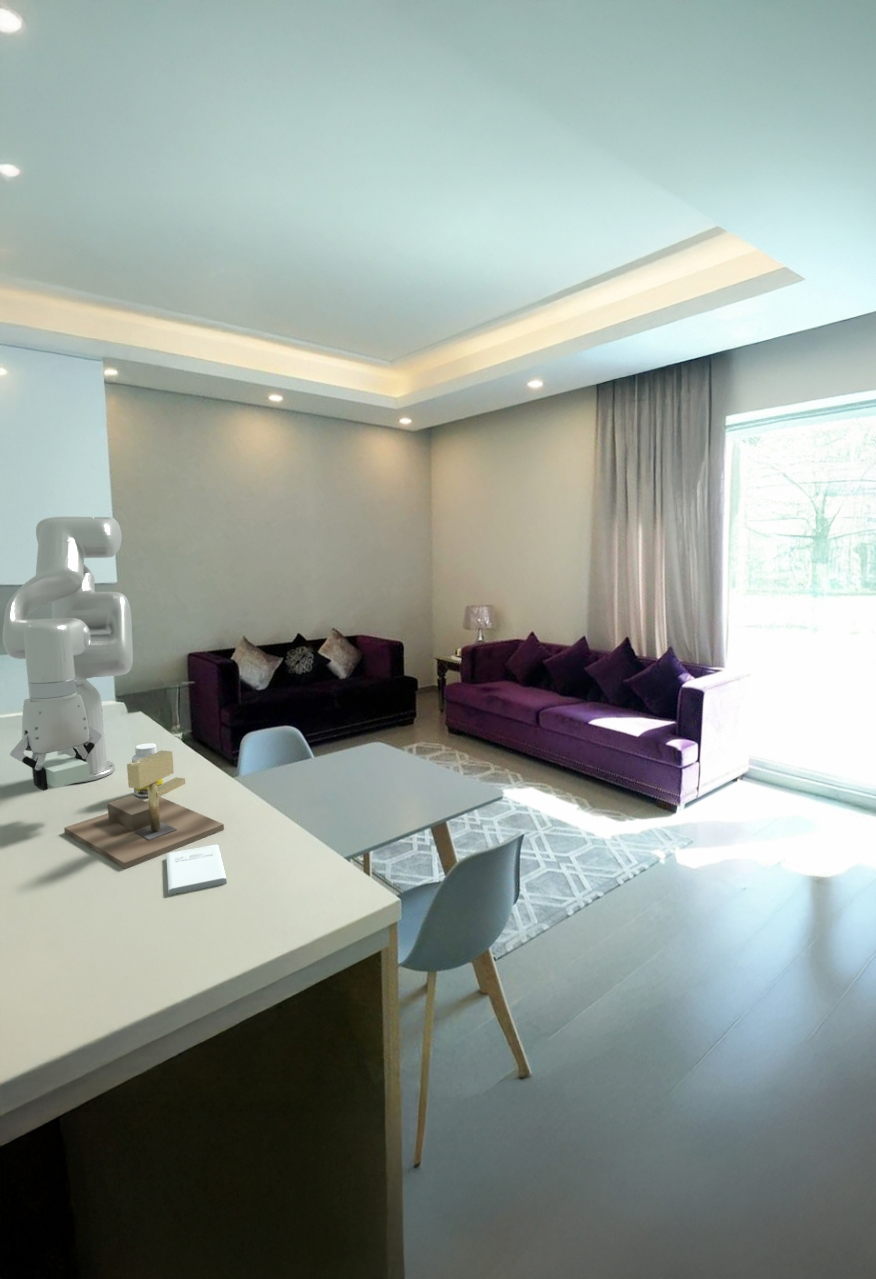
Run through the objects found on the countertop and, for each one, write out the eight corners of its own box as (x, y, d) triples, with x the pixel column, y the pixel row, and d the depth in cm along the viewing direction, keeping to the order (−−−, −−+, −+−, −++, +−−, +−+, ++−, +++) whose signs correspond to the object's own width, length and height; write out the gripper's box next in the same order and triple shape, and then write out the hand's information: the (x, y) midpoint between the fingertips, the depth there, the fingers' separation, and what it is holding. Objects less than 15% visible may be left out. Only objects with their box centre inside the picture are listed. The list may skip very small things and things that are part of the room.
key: (177, 812, 120) (173, 745, 118) (188, 813, 119) (183, 746, 117) (132, 837, 110) (126, 764, 108) (144, 839, 109) (138, 766, 107)
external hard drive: (168, 899, 94) (166, 861, 105) (227, 887, 97) (219, 852, 109) (168, 889, 94) (165, 852, 105) (226, 877, 97) (218, 843, 108)
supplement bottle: (136, 800, 130) (132, 751, 129) (132, 791, 135) (128, 744, 133) (166, 794, 133) (162, 746, 132) (160, 786, 138) (157, 740, 136)
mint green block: (32, 777, 121) (31, 761, 121) (66, 768, 126) (65, 753, 125) (55, 788, 115) (53, 771, 115) (90, 778, 120) (88, 763, 119)
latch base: (64, 832, 115) (62, 811, 115) (159, 801, 129) (158, 782, 129) (125, 869, 102) (123, 845, 101) (223, 829, 116) (222, 808, 115)
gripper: (91, 680, 127) (99, 767, 130) (-9, 695, 114) (1, 793, 116) (109, 684, 123) (117, 775, 125) (7, 700, 109) (17, 802, 111)
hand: (61, 782), depth 120 cm, fingers closed on mint green block, 6 cm apart
